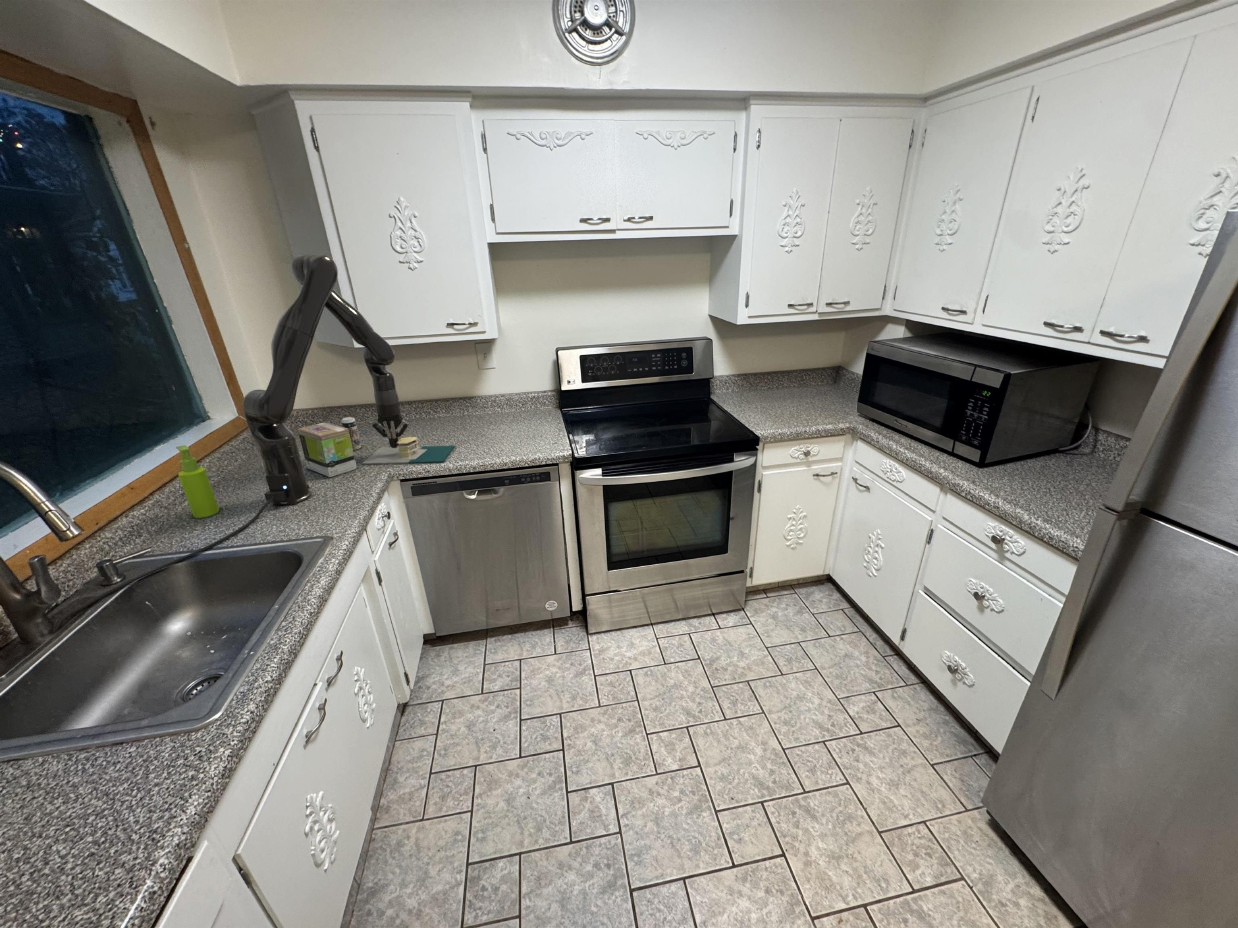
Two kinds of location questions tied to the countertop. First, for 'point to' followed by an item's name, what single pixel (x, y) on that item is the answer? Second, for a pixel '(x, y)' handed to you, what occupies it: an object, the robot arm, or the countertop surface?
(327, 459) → the tea box
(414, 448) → the stacked layers on plate
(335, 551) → the countertop surface
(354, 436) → the beer can
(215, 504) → the soap dispenser
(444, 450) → the board
